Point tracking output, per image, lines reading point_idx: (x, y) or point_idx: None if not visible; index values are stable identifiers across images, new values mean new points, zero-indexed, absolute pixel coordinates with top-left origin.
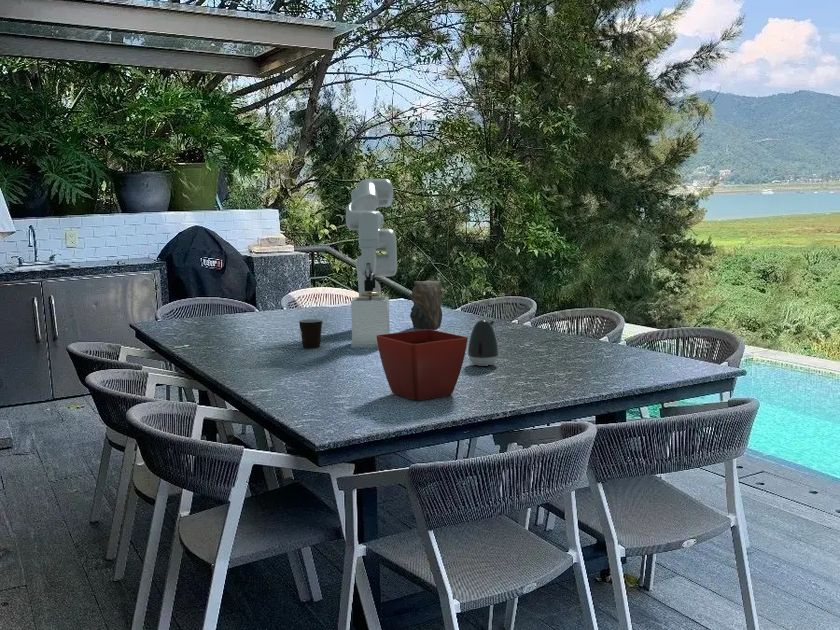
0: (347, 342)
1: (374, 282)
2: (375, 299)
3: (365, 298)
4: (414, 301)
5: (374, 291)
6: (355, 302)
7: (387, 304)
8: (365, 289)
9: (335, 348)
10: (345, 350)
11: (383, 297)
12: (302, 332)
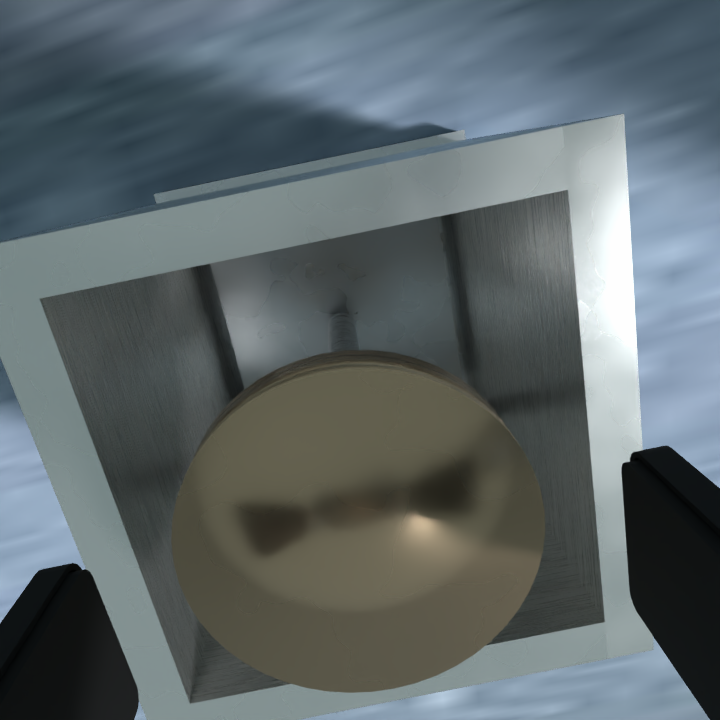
0: (413, 74)
1: (699, 700)
2: (580, 472)
3: (574, 328)
4: None
5: (503, 582)
6: (4, 325)
7: None
8: (33, 605)
9: (104, 63)
10: (40, 184)
11: (601, 594)
12: None
